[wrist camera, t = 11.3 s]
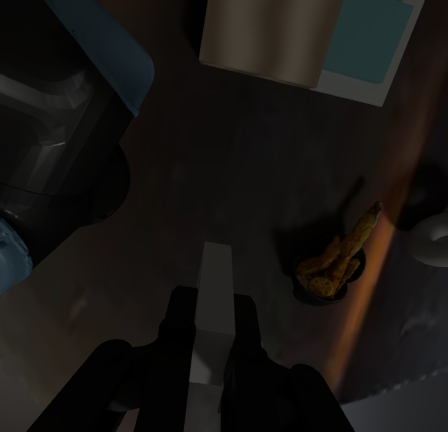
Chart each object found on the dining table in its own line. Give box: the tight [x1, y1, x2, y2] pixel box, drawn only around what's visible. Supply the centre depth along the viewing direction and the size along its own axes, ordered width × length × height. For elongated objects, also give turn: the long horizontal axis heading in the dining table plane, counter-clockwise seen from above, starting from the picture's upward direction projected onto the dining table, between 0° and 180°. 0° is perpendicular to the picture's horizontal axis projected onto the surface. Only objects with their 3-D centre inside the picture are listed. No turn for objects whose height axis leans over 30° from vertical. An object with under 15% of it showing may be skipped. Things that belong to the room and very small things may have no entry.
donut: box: [406, 212, 448, 267], centre depth 40 cm, size 10×3×10 cm, turn 123°
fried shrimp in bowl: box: [292, 201, 383, 306], centre depth 42 cm, size 9×11×18 cm
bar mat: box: [310, 0, 424, 107], centre depth 35 cm, size 10×13×1 cm
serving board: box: [199, 0, 344, 89], centre depth 32 cm, size 14×13×4 cm
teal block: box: [322, 0, 414, 84], centre depth 34 cm, size 8×8×2 cm
